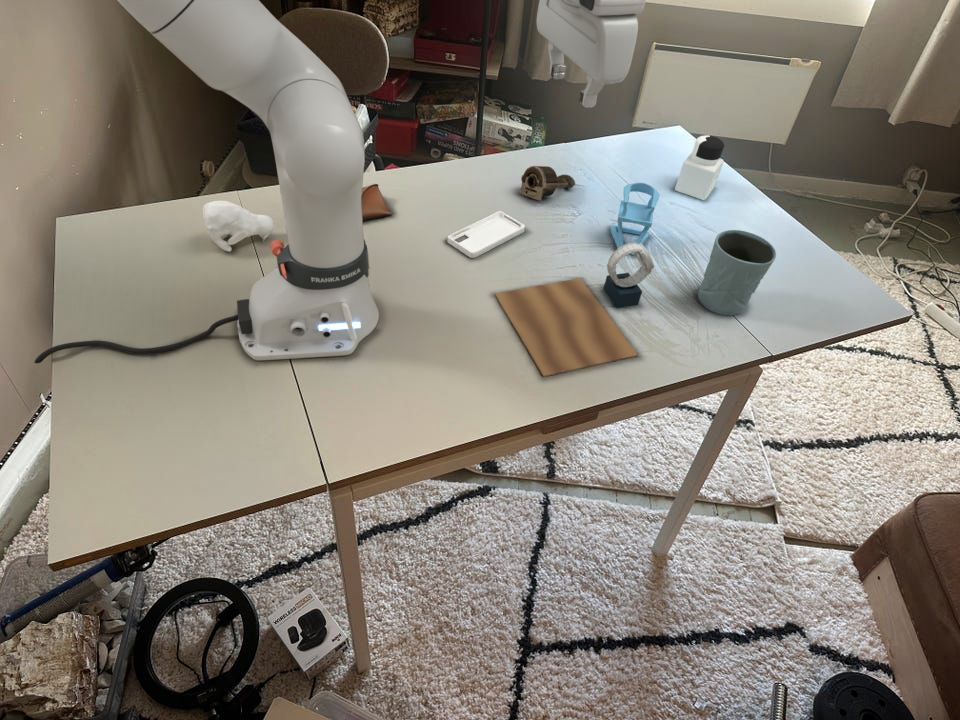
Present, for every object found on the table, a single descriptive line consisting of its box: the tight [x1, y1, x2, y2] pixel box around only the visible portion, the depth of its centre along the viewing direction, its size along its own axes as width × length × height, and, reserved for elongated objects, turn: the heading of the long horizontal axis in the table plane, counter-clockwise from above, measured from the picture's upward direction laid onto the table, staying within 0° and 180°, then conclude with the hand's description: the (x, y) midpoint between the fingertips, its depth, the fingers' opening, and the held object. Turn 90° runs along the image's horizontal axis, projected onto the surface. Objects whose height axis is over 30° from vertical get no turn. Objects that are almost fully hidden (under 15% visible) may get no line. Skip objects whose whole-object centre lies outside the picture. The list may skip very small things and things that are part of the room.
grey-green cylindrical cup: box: [697, 229, 777, 316], centre depth 113 cm, size 10×10×12 cm
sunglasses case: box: [361, 183, 393, 223], centre depth 127 cm, size 18×7×7 cm, turn 121°
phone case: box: [447, 210, 526, 259], centre depth 126 cm, size 7×1×15 cm
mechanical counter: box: [520, 165, 576, 201], centre depth 137 cm, size 7×13×10 cm
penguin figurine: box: [202, 200, 275, 253], centre depth 117 cm, size 6×8×12 cm
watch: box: [602, 241, 655, 309], centre depth 112 cm, size 6×8×11 cm
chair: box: [610, 182, 661, 256], centre depth 124 cm, size 8×8×12 cm
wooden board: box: [494, 277, 638, 378], centre depth 109 cm, size 17×21×1 cm
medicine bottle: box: [674, 134, 725, 201], centre depth 141 cm, size 7×7×12 cm
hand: (571, 91), depth 88 cm, fingers open, 8 cm apart
